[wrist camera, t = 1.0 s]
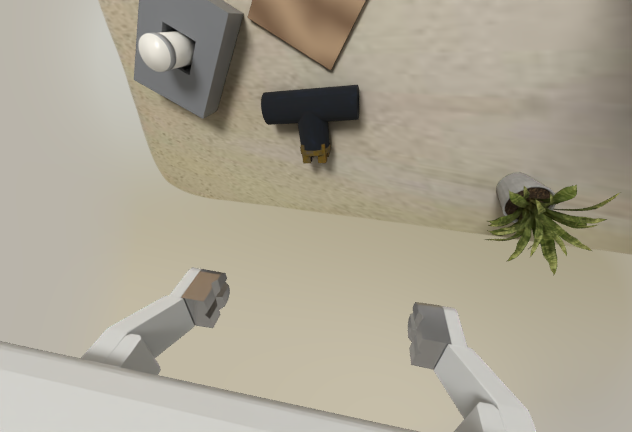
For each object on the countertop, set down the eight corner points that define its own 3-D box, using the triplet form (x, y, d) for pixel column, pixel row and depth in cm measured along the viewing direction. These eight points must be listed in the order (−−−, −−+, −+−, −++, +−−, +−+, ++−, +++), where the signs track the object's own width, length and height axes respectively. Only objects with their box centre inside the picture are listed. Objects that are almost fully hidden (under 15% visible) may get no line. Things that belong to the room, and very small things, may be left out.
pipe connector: (358, 163, 45) (272, 165, 48) (360, 151, 49) (281, 154, 53) (356, 88, 39) (258, 96, 42) (358, 82, 43) (269, 89, 46)
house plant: (504, 126, 42) (559, 175, 30) (589, 154, 42) (681, 214, 30) (453, 199, 51) (478, 261, 38) (524, 222, 51) (573, 292, 38)
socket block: (166, -36, 39) (141, -42, 35) (243, 13, 40) (228, 13, 36) (154, 74, 48) (133, 79, 44) (217, 110, 50) (202, 118, 46)
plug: (184, 23, 43) (139, 25, 35) (211, 40, 43) (172, 45, 35) (179, 53, 45) (136, 60, 37) (204, 68, 46) (168, 78, 38)
